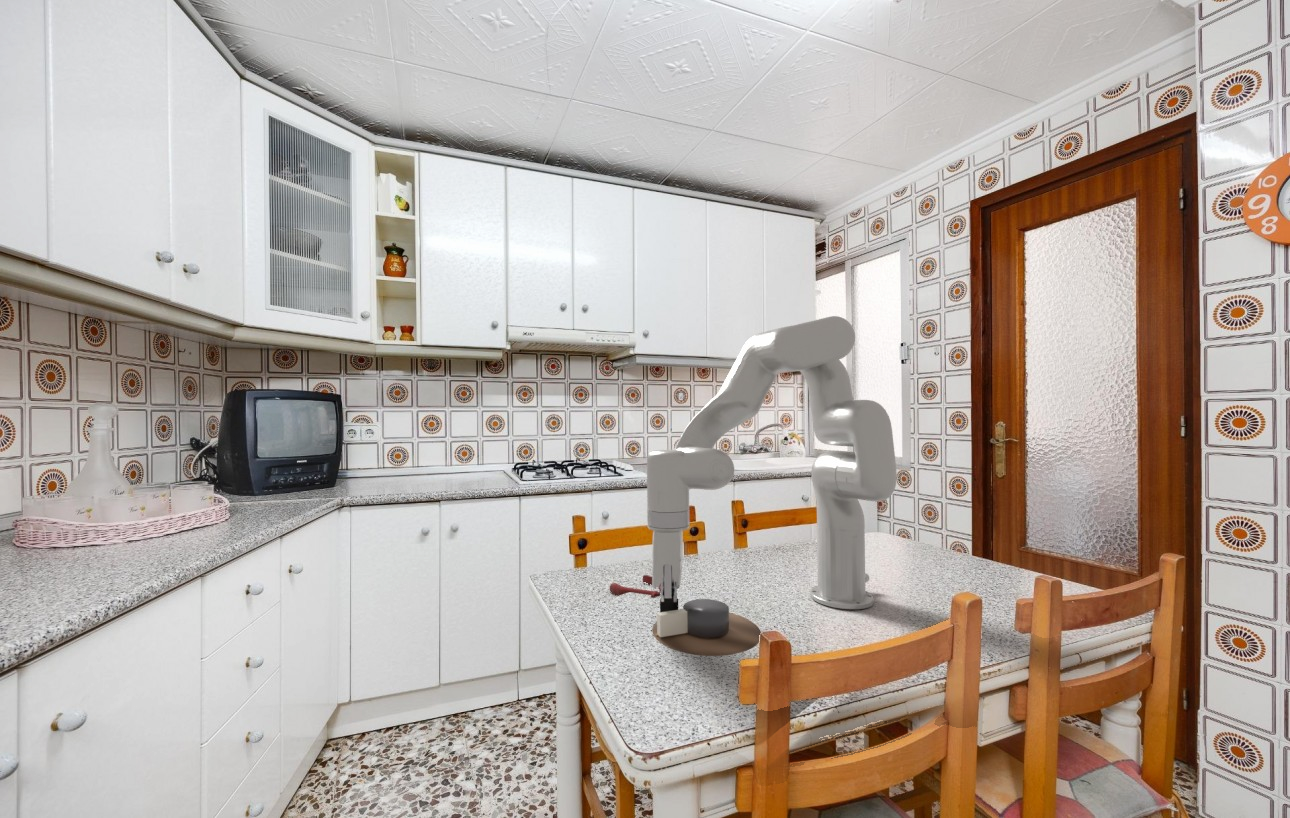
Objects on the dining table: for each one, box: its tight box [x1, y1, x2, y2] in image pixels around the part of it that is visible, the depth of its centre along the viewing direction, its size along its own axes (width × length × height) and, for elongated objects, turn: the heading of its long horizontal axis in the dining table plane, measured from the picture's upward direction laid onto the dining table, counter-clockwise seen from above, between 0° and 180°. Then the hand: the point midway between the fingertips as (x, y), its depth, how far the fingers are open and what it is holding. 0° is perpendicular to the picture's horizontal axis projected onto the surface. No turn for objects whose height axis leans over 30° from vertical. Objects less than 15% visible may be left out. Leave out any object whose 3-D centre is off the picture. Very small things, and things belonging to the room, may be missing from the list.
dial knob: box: [656, 598, 730, 638], centre depth 87 cm, size 13×8×4 cm, turn 110°
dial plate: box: [651, 612, 762, 657], centre depth 88 cm, size 19×19×2 cm
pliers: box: [609, 574, 680, 601], centre depth 108 cm, size 11×20×3 cm, turn 38°
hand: (669, 622), depth 89 cm, fingers closed
